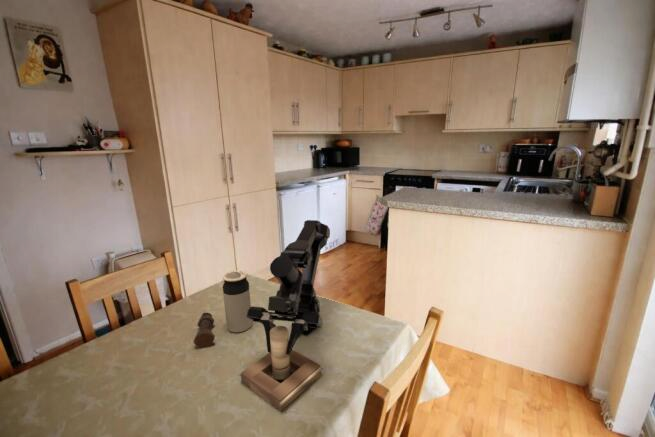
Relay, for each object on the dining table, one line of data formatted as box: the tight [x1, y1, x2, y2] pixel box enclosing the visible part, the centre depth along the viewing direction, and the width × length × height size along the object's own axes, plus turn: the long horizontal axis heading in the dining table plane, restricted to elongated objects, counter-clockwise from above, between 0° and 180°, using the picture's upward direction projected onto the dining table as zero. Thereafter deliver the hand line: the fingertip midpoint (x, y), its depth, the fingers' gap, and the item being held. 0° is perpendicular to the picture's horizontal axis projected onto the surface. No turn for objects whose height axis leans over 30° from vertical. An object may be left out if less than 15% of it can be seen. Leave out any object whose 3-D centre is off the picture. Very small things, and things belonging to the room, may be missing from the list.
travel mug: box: [222, 269, 253, 333], centre depth 99 cm, size 8×8×18 cm
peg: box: [270, 325, 291, 380], centre depth 76 cm, size 4×4×12 cm
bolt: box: [193, 312, 216, 349], centre depth 97 cm, size 6×5×15 cm
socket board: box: [238, 349, 323, 412], centre depth 78 cm, size 14×15×3 cm
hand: (278, 353), depth 75 cm, fingers closed on peg, 4 cm apart
